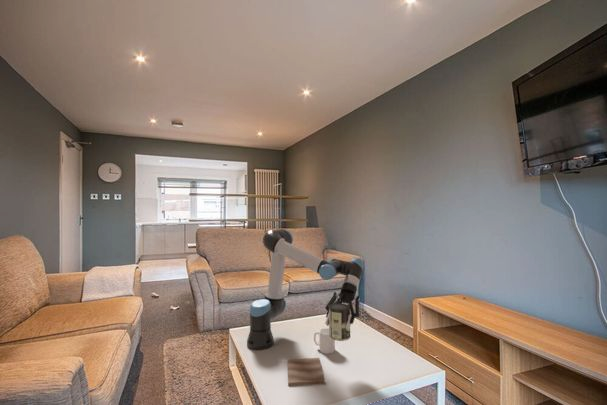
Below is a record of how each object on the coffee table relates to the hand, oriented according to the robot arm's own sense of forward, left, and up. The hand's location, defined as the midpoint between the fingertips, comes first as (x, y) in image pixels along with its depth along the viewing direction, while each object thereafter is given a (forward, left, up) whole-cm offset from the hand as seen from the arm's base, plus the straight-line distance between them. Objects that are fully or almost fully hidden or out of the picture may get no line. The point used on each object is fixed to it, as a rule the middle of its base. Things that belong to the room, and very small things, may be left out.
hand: (336, 327), depth 137 cm
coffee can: (-2, +2, -6) cm, 6 cm away
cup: (-22, -3, -21) cm, 31 cm away
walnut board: (-1, -15, -21) cm, 26 cm away
